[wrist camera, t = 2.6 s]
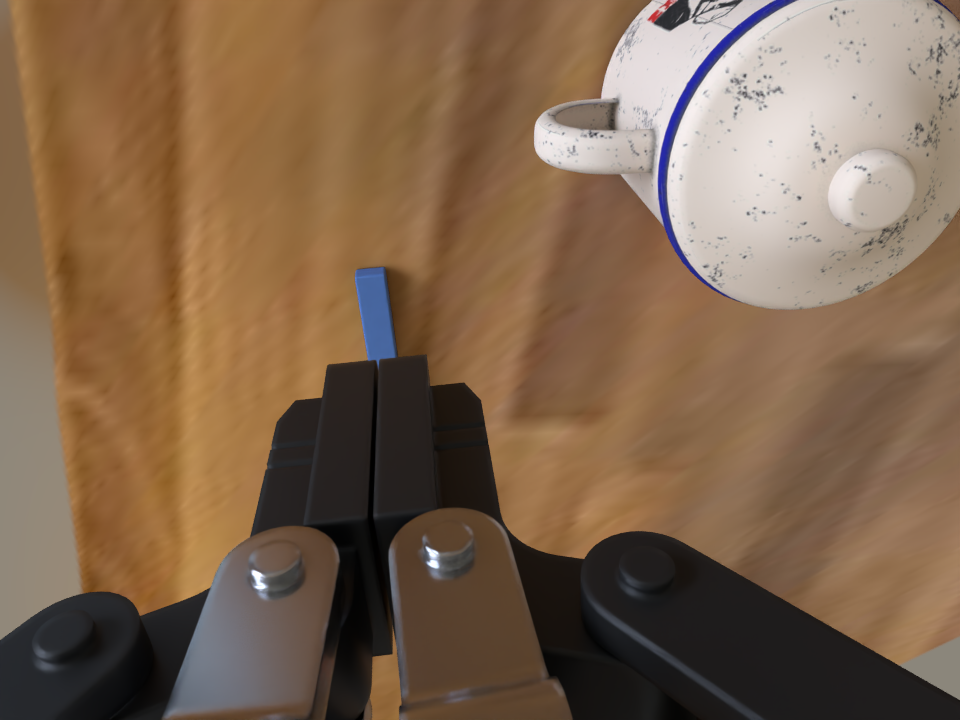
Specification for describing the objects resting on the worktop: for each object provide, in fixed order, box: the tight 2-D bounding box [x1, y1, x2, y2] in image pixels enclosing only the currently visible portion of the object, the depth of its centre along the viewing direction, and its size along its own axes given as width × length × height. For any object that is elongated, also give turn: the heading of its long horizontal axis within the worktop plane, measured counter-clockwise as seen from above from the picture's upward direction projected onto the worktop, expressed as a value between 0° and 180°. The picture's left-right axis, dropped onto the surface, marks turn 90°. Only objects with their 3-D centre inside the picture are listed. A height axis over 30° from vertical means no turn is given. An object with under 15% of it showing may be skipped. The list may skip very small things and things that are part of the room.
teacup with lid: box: [534, 0, 960, 310], centre depth 23 cm, size 12×9×12 cm
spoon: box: [355, 267, 398, 369], centre depth 34 cm, size 14×4×1 cm, turn 4°
